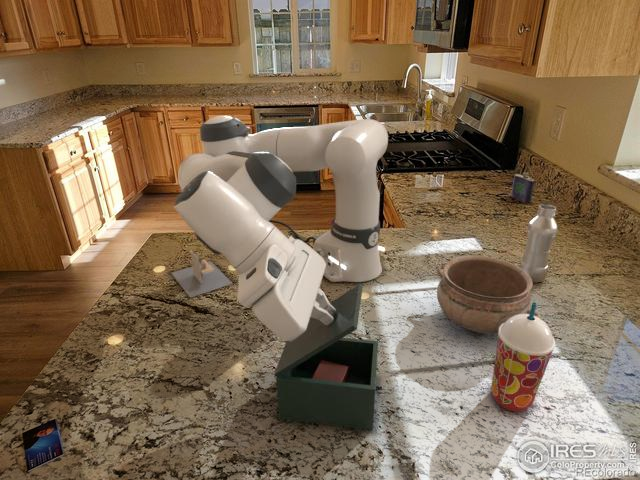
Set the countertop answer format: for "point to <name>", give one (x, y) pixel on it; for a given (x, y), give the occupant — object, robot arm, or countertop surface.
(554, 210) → the plastic bottle
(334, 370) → the block
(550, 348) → the smoothie
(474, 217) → the countertop surface
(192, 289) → the architectural model
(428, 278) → the countertop surface
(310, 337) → the bin lid
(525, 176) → the flask
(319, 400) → the bin
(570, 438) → the countertop surface
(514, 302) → the cooking pot
